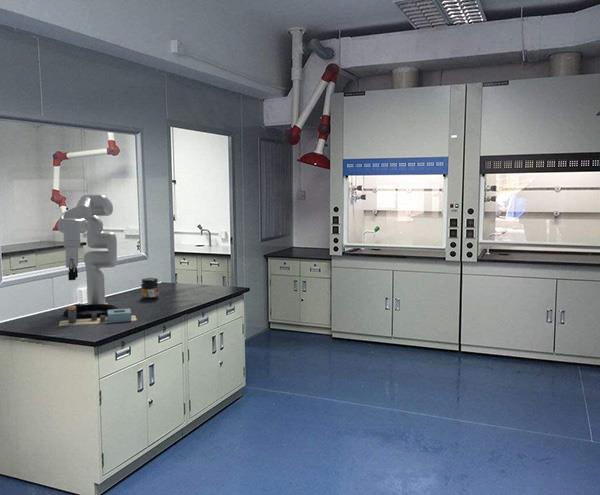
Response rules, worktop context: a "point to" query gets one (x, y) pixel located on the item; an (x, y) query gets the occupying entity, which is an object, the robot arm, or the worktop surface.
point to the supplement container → (149, 289)
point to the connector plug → (72, 314)
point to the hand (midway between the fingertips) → (73, 278)
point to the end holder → (119, 315)
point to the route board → (91, 320)
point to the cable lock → (91, 307)
